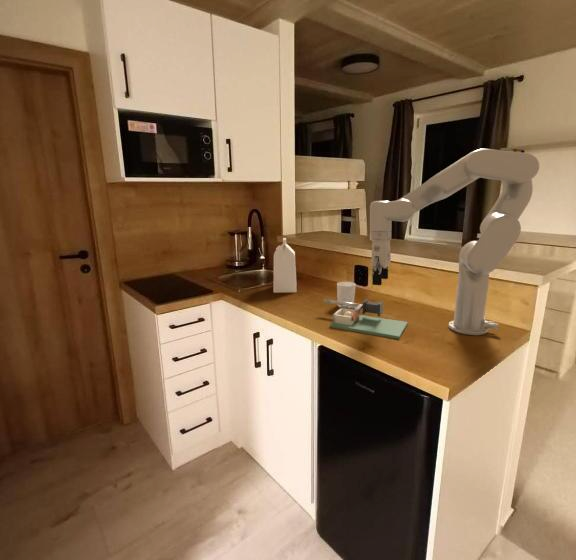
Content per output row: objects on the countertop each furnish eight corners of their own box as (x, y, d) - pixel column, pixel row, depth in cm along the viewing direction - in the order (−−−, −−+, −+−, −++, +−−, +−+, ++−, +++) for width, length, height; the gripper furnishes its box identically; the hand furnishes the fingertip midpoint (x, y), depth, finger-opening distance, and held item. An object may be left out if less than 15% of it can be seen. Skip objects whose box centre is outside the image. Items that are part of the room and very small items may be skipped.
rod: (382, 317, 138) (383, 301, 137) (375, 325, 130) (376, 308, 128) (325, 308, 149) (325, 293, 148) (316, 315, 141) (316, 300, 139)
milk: (296, 292, 178) (296, 240, 172) (273, 292, 179) (272, 240, 172) (296, 286, 190) (296, 237, 184) (274, 286, 190) (273, 237, 184)
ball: (344, 310, 138) (346, 319, 139) (341, 313, 135) (343, 322, 136) (353, 309, 136) (355, 318, 137) (350, 312, 133) (352, 321, 134)
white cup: (340, 309, 152) (341, 287, 149) (333, 304, 159) (334, 282, 157) (357, 308, 154) (358, 285, 151) (350, 302, 161) (350, 281, 159)
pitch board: (407, 324, 134) (408, 313, 133) (399, 339, 121) (400, 326, 120) (343, 314, 146) (343, 304, 144) (330, 327, 133) (330, 315, 132)
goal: (357, 317, 139) (358, 310, 138) (350, 325, 131) (350, 317, 131) (340, 315, 142) (340, 307, 141) (332, 322, 135) (332, 314, 134)
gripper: (385, 239, 120) (384, 288, 124) (396, 232, 135) (395, 277, 139) (363, 238, 124) (363, 286, 128) (376, 232, 139) (376, 276, 143)
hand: (380, 281), depth 133 cm, fingers open, 9 cm apart
